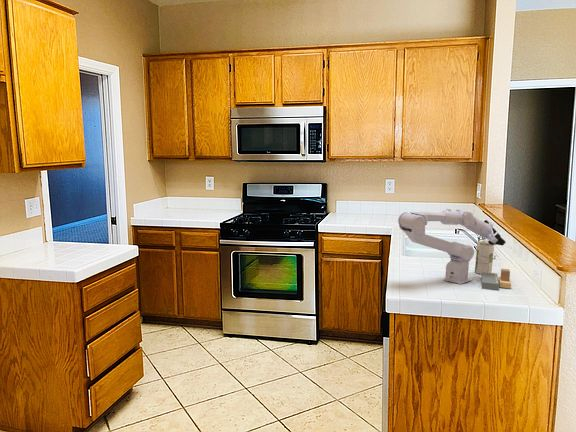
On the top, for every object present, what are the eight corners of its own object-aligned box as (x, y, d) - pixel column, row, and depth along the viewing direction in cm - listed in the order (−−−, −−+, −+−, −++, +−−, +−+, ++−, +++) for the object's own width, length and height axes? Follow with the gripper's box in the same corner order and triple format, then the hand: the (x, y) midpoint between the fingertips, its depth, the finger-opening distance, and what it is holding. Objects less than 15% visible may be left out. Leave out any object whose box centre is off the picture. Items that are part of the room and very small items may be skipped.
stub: (499, 287, 186) (500, 272, 185) (498, 281, 195) (499, 267, 194) (510, 288, 184) (511, 273, 184) (509, 282, 194) (510, 268, 193)
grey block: (481, 288, 185) (482, 282, 184) (481, 277, 201) (481, 271, 201) (498, 290, 182) (499, 283, 182) (496, 279, 199) (497, 273, 199)
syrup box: (478, 270, 214) (480, 239, 212) (492, 273, 210) (494, 241, 208) (474, 273, 209) (476, 241, 207) (488, 275, 206) (490, 242, 204)
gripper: (492, 229, 189) (515, 241, 194) (476, 209, 201) (497, 221, 206) (480, 241, 191) (502, 253, 197) (465, 222, 203) (486, 233, 209)
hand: (499, 238), depth 201 cm, fingers open, 7 cm apart
